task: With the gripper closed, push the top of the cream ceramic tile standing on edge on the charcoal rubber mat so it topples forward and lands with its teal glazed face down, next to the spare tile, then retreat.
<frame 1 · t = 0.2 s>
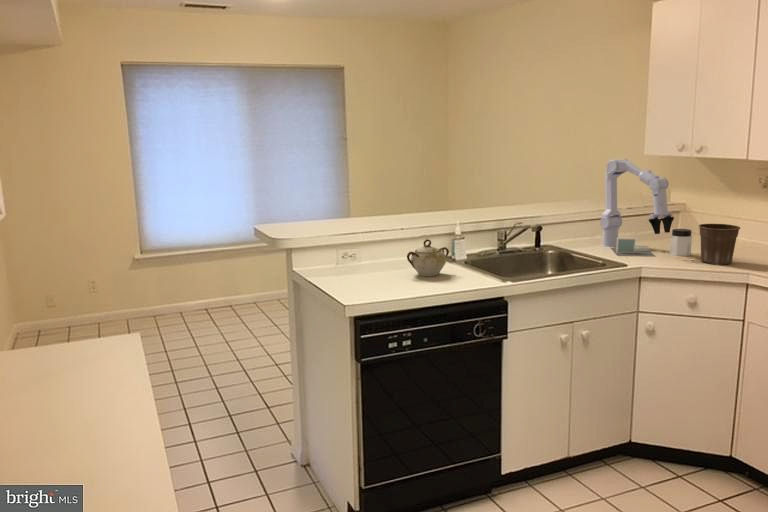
hand: (662, 233, 297), 11 cm above the worktop, tool pointing down, fingers open, 7 cm apart
sugar bowl: (428, 274, 268), on the worktop
tile: (625, 252, 305), resting on mat
jar: (680, 255, 299), on the worktop
mat: (632, 253, 306), on the worktop
spare tile: (639, 250, 311), resting on mat
plant pot: (716, 262, 281), on the worktop
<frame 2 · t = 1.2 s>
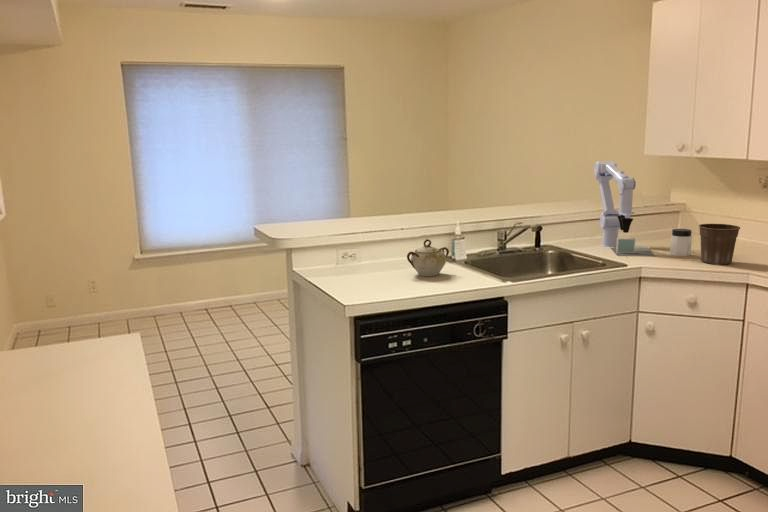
hand: (624, 231, 309), 10 cm above the worktop, tool pointing down, fingers open, 7 cm apart
nothing on the worktop moved.
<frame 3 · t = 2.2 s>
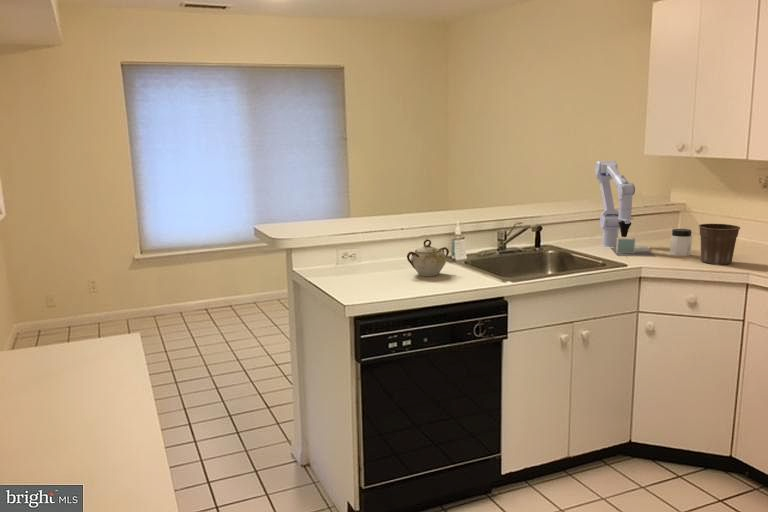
hand: (623, 236, 309), 7 cm above the worktop, tool pointing down, fingers closed
nothing on the worktop moved.
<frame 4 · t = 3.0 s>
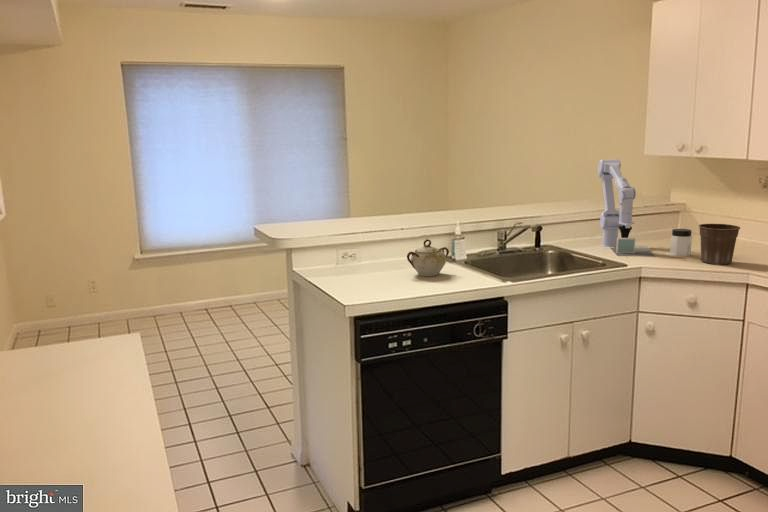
hand: (624, 241, 308), 5 cm above the worktop, tool pointing down, fingers closed
nothing on the worktop moved.
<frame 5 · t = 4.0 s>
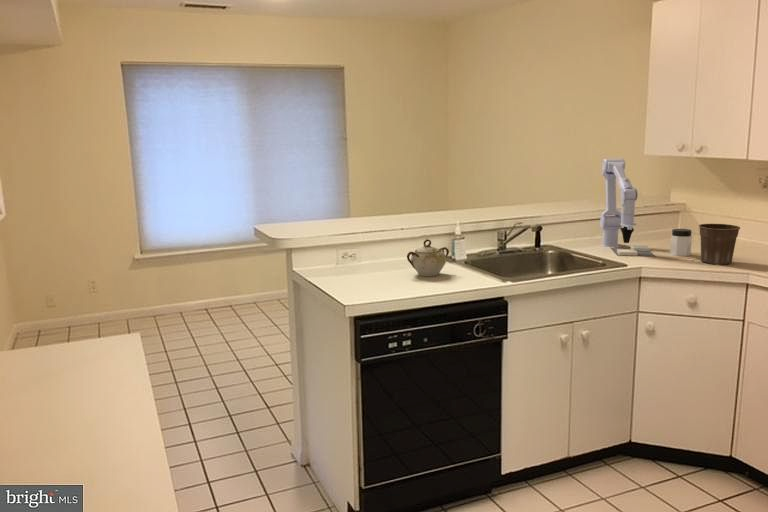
hand: (626, 242, 303), 5 cm above the worktop, tool pointing down, fingers closed
tile: (625, 251, 304), point 1 cm above the worktop, tilted 90°, touching mat
everything else where it was.
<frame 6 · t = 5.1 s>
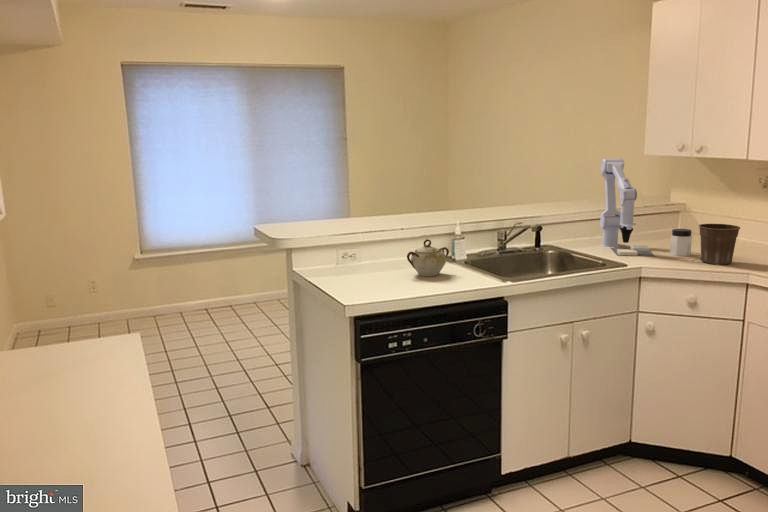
hand: (625, 242, 305), 5 cm above the worktop, tool pointing down, fingers closed
nothing on the worktop moved.
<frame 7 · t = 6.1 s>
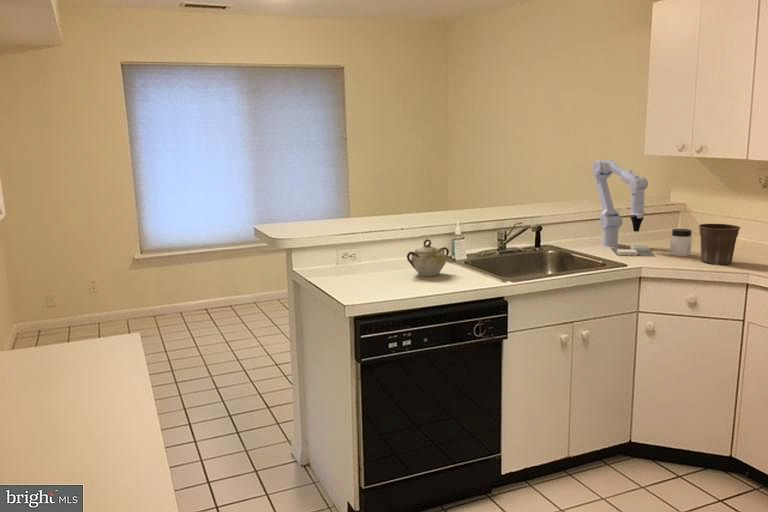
hand: (636, 231, 307), 10 cm above the worktop, tool pointing down, fingers closed
nothing on the worktop moved.
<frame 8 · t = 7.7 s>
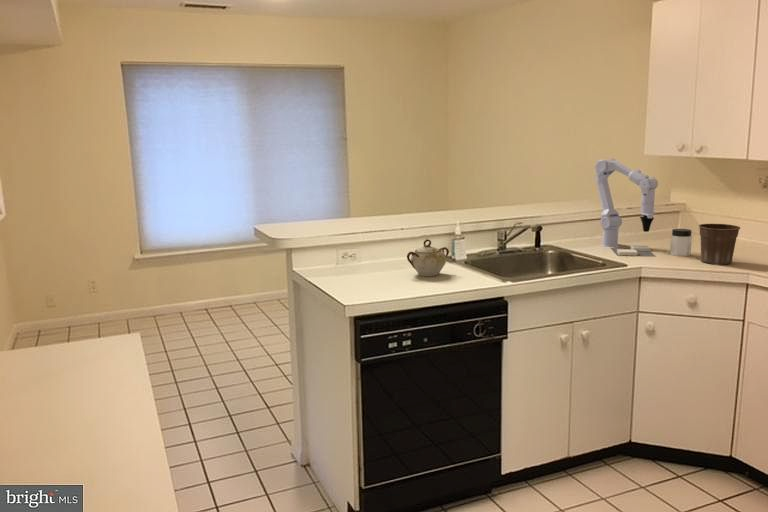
hand: (646, 231, 307), 10 cm above the worktop, tool pointing down, fingers closed
nothing on the worktop moved.
at the end: tile tilted 90°; tile inside the target area (1.7 cm from its centre), point 1.4 cm above the worktop; tile touching mat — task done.
